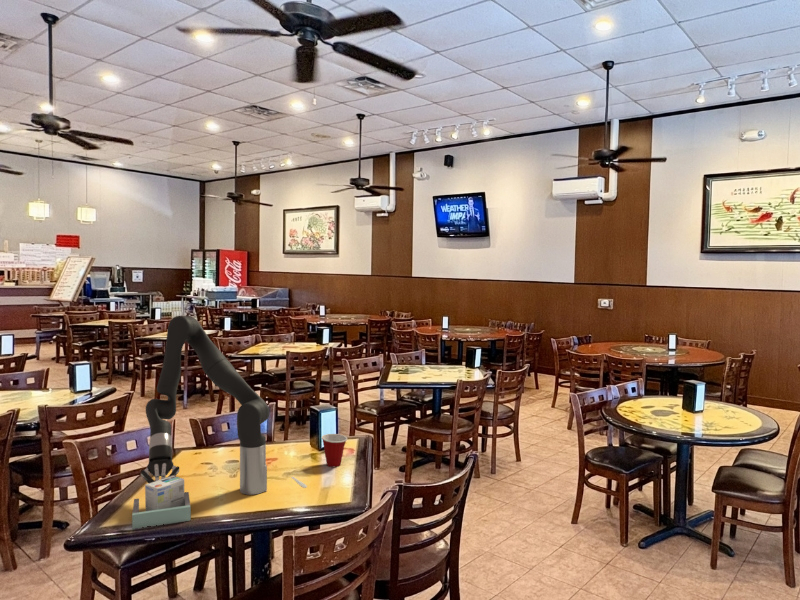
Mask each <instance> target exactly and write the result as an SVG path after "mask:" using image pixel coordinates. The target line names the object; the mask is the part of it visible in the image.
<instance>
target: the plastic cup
mask: <svg viewBox="0 0 800 600" xmlns="http://www.w3.org/2000/svg"><path fill="white" fill-rule="evenodd" d="M321 439H322V444H323V445H322V446H323V450H324V456H325V461H326V462H325V463H326V465H327V466H328V467H329V468H337V466H338V467H340V466H341V465H342V460H343V454H344V449H345V445H346V442H347V440H348V437H347V436H345V435H344V434H338V433H327V434H323V435H322V436H321Z"/></svg>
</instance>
